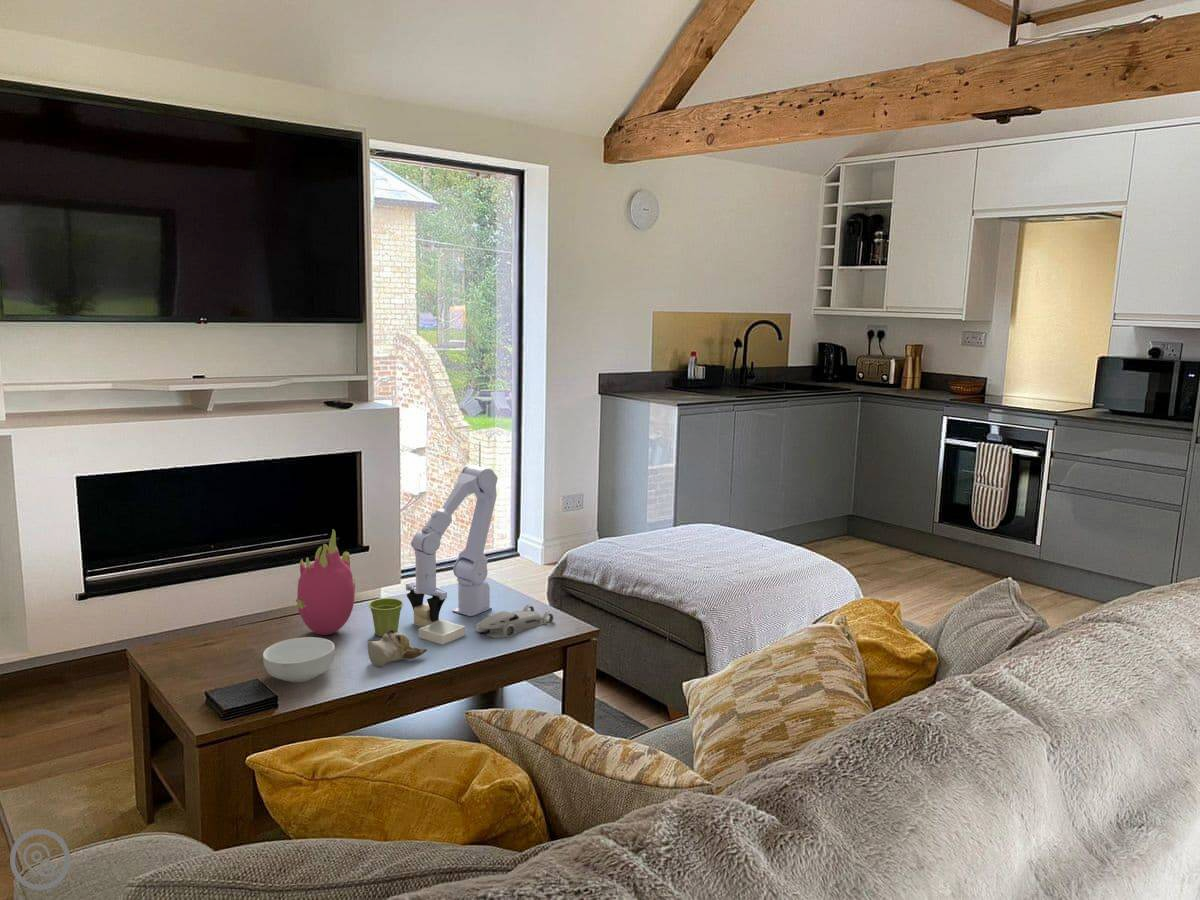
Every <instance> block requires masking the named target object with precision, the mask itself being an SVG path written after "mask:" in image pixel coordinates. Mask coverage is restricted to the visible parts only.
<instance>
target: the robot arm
mask: <svg viewBox="0 0 1200 900" xmlns="http://www.w3.org/2000/svg"><path fill="white" fill-rule="evenodd" d="M497 483H498V476H497V474H496V473H495V472H494V470H493V469H491V468H488V467H487V468H486V467H481V466H476V465H474V464H467V465H465V466H464V467H463V468H462V469H461V472H460V473H459V474H458V475H457V482H456V484H455V485H454V487H453V489H452V491H450V494H449V495H448V497H447V499H446V501H445V502H444V504H443V505H442V507H441V508H439V509H436V510H434V511H433V512H431V514H430V518H429V519H428V520H427V521H426V523H425V525H424V526H423V527H422V528H421V530H420V531H418V532H416V533H415V534H414V535H413V537H412V541H410V546H411V547H412V548H413V551H414V555H415V582H408V583H405V591H409V593H406V597H407V599H408V601H409V602H410V604H411V606H412V611H413V612H414V607H416V606H419V605H422V604H424V598H425V595H427V596H430V597H429V598H427V599H426V601H427V602H426V603H428V604H429V608H430V618H431V621H432V622H434V621H436V620H438V616H439V615H440V611H441V609H442V607H443V604H444V603H445V601H446V599H447V598H448V592H447V591H446V590H442V588H440V587H438V586H437V565H436V564H437V559H436V558H437V555H436V554H437V551H438V550H439V549H440V546H441V540H442V536H443V535H444V534H445V532H446V531H447V530H448V528H449V526H450V525H451V523H452V522H453V517H452V515H453V514H454V513H455V511H456V510H457V509H458V507H460V505H461V504H462V502H463V501H464V500H465V499H466V497H467V496H468V495H471V494H474V495H475V496H476V503H475V507H474V511H473V515H472V520H471V524H470V527H469V528H470V529H469V532H468V537H467V540H466V541H467V542H466V543H465V544H466V545H465V548H464V549H463V550H462V551H460V552H459V554H458V556H457V560H456V561H455V563H454V564H453V568H452V570H453V575H454V576H455V577H456V581H457V584H458V585H457V587H458V588H457V589H458V591H457V593H458V594H457V596H458V600H457V601H458V602H457V603H458V604H457V605H458V607H455V608H453V609H452V610H451V611H452V612H454V613H457V614H462V615H464V616H469V617H474V616H476V615H478V614H481V613H484V612H486V611H489V610H491V609H492V608H493V607H492V606H490V605H491V604H490V603H491V602H490V597H491V596H490V595H491V593H490V592H491V590H490V589H491V588H490V584H489V582H488V581H487V580H486V579H487V576H488V561H489V560H488V559H487V557H486V554H485V553H484V551H485V547H486V543H487V540H488V539H487V538H488V534H489V532H490V531H489V530H490V526H491V522H492V518H493V513H494V509H495V505H496V501H497V497H498V496H497V495H498V493H497Z"/></svg>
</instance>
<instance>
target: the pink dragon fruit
mask: <svg viewBox="0 0 1200 900" xmlns="http://www.w3.org/2000/svg"><path fill="white" fill-rule="evenodd" d="M331 530H332V532H331V535H330V539H329V541H328V544H326V543H323V545H322V546H319V547H318V548H317V550H316V552H315V554H314V555H315V556H314V562H312V563H311V562H310V561H311V560H310V559H309V557H306V559H305V563H304V560H303V558H301V560H300V561H299V572H300V576H299V578H298V581H297V596H296V597H297V598H296V599H295V601H296V603H297V609H298V614H299V616H300V617H301V619H302V621H303V622H304V624H305V625H306V626H307V628H308V629H309V630H311V631H312V632H313V633H315V634H318V635H322V636H323V635H324V636H326V635H332V634H334V633H337V632H338V631H339V630H341V629H342V628H343V627H344V625H345V624H346V623H347V622H348V621H349V619H350V616H351V614H352V612H353V608H354V603H355V595H356V594H355V592H356V580H355V578H353V574H352V569H351V559H350V556H351V555H350V552H348V551H344V552H343V553H342V556H341V555H340V552H339V548H338V546H337V540H336V539H337V537H336V536H337V535H336V530H335V529H333V528H332V529H331Z"/></svg>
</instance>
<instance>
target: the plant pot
mask: <svg viewBox="0 0 1200 900" xmlns="http://www.w3.org/2000/svg"><path fill="white" fill-rule="evenodd" d="M403 605H404V601H403V600H401V599H398V598H391V597H387V598H386V597H385V598H383V597H382V598H378V599H374V600H372V601H370V602H369V603H368V607H369V608H370V612H371V614H372V621H373V627H374V634H375V635H376V636H378V637H383V635H384V634H385V633H386V632H388V631H390V630H393V631H394V633H395V632H398V631H399V624H400V623H399V622H400V618H401V617H400V615H401V611H402V607H403Z"/></svg>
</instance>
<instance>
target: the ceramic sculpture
mask: <svg viewBox="0 0 1200 900" xmlns="http://www.w3.org/2000/svg"><path fill="white" fill-rule="evenodd" d="M427 651H428V649H425V648H424V649H420V648H419V647H411V645H410V639H409V637H408V636H407V635H406V634H405V633H401V632H395V633H394V631H393V630H390V631H388V632H386V633H385V634H384V635H383V636H381V639H379V640H376V641H375V640H374V641H373V640H371V641H368V642H367V655H368V659H369V661H370V663H372V665H373V666H374V667H377V668H383V667H385V666H386V664H388V663H390V662H391V663H392V662H393V663H394V662H399V661H402V660H404V659H405V660H413V659H416V658H418V657H420V656H422V655H423V654H425V653H426V652H427Z"/></svg>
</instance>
